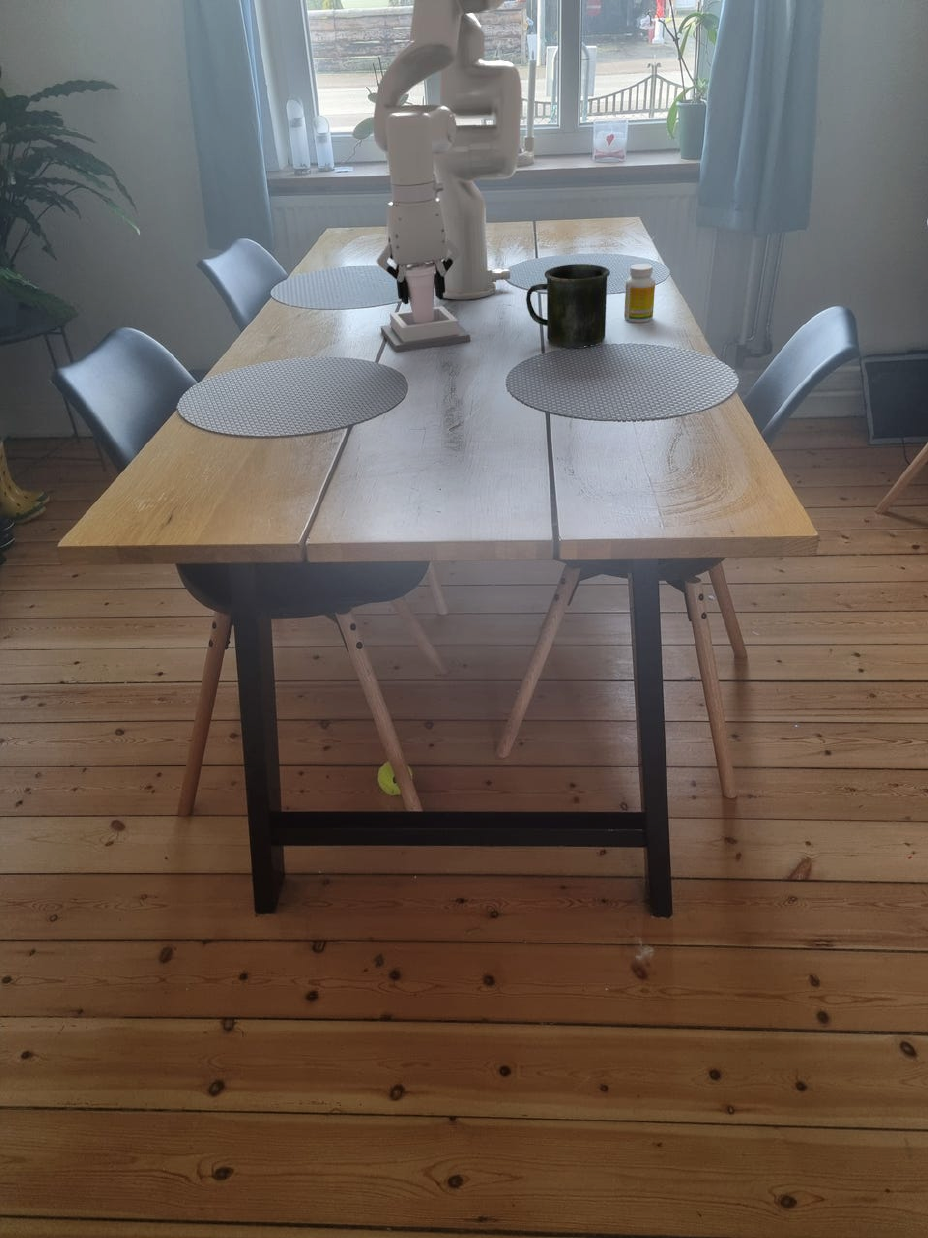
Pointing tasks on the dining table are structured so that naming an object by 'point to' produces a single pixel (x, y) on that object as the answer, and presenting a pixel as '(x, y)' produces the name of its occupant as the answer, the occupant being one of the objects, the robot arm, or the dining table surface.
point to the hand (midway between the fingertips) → (422, 298)
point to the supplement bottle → (639, 294)
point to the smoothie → (421, 290)
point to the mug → (574, 305)
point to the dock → (423, 331)
